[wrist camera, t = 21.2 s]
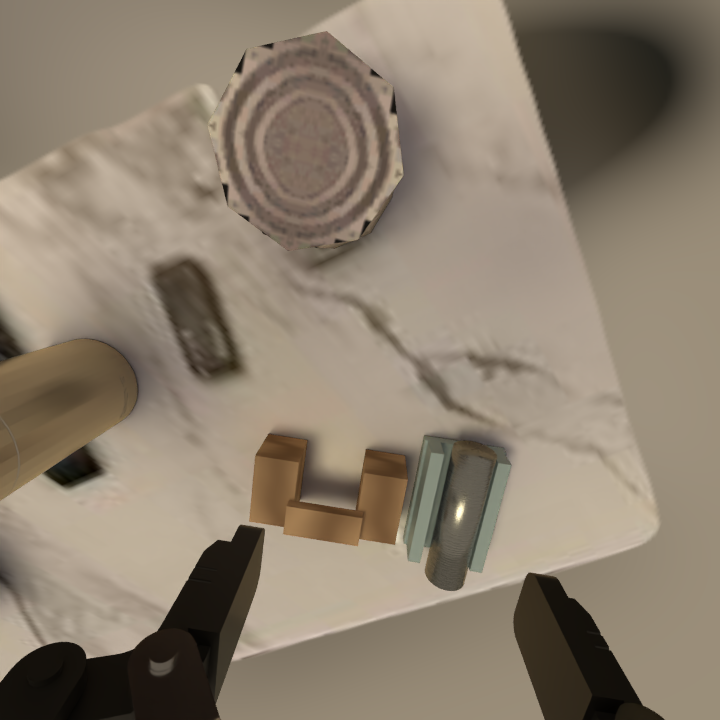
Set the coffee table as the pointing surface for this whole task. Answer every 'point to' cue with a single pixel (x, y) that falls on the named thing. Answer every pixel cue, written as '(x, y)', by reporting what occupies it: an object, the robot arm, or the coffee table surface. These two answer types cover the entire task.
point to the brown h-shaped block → (282, 507)
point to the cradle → (429, 498)
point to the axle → (459, 514)
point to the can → (307, 142)
